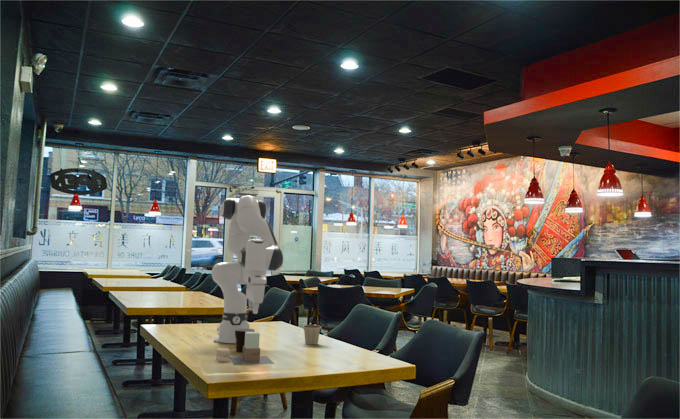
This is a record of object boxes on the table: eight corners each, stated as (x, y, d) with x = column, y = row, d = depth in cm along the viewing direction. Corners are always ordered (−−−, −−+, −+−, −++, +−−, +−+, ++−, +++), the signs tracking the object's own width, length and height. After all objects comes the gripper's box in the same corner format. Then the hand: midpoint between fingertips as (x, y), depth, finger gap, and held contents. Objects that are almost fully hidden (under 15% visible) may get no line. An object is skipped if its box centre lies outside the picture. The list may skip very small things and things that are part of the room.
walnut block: (242, 358, 215) (243, 346, 215) (256, 358, 217) (257, 346, 217) (244, 361, 209) (245, 349, 210) (259, 361, 211) (260, 348, 212)
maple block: (216, 361, 213) (217, 348, 213) (227, 360, 214) (228, 348, 215) (217, 363, 209) (218, 350, 209) (229, 363, 210) (229, 350, 210)
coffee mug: (249, 355, 227) (250, 331, 228) (230, 353, 228) (231, 330, 229) (258, 350, 238) (259, 328, 239) (240, 349, 240) (242, 327, 241)
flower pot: (320, 345, 257) (321, 327, 258) (301, 345, 257) (302, 327, 258) (321, 342, 267) (322, 325, 267) (302, 341, 267) (303, 324, 267)
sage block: (244, 346, 215) (245, 331, 216) (256, 346, 217) (257, 331, 217) (246, 348, 211) (247, 333, 211) (258, 348, 212) (259, 333, 213)
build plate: (228, 358, 218) (228, 356, 218) (266, 357, 223) (266, 355, 223) (233, 366, 203) (233, 364, 203) (274, 365, 208) (274, 363, 208)
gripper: (243, 276, 225) (241, 308, 224) (251, 279, 205) (249, 315, 205) (258, 276, 227) (256, 308, 226) (267, 280, 208) (265, 315, 207)
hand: (253, 312), depth 215 cm, fingers open, 8 cm apart
